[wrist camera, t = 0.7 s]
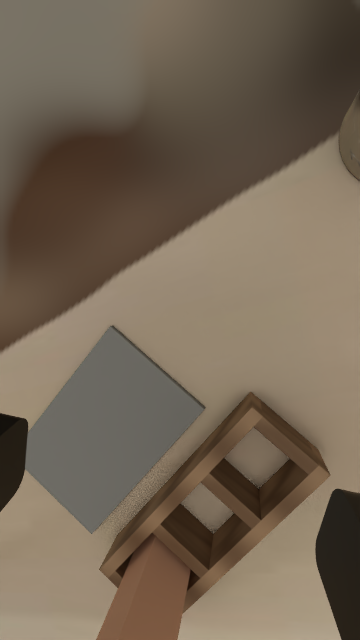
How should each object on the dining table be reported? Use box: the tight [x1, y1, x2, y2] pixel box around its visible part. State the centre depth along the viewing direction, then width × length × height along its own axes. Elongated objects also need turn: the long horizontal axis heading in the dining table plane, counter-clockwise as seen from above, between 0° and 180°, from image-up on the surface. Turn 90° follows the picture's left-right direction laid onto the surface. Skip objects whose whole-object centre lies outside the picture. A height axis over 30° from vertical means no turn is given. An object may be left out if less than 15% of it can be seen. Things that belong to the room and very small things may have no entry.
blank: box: [96, 533, 191, 640], centre depth 28 cm, size 4×4×14 cm
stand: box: [99, 392, 330, 614], centre depth 31 cm, size 23×8×4 cm, turn 140°
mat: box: [25, 326, 205, 534], centre depth 35 cm, size 20×13×1 cm, turn 140°
